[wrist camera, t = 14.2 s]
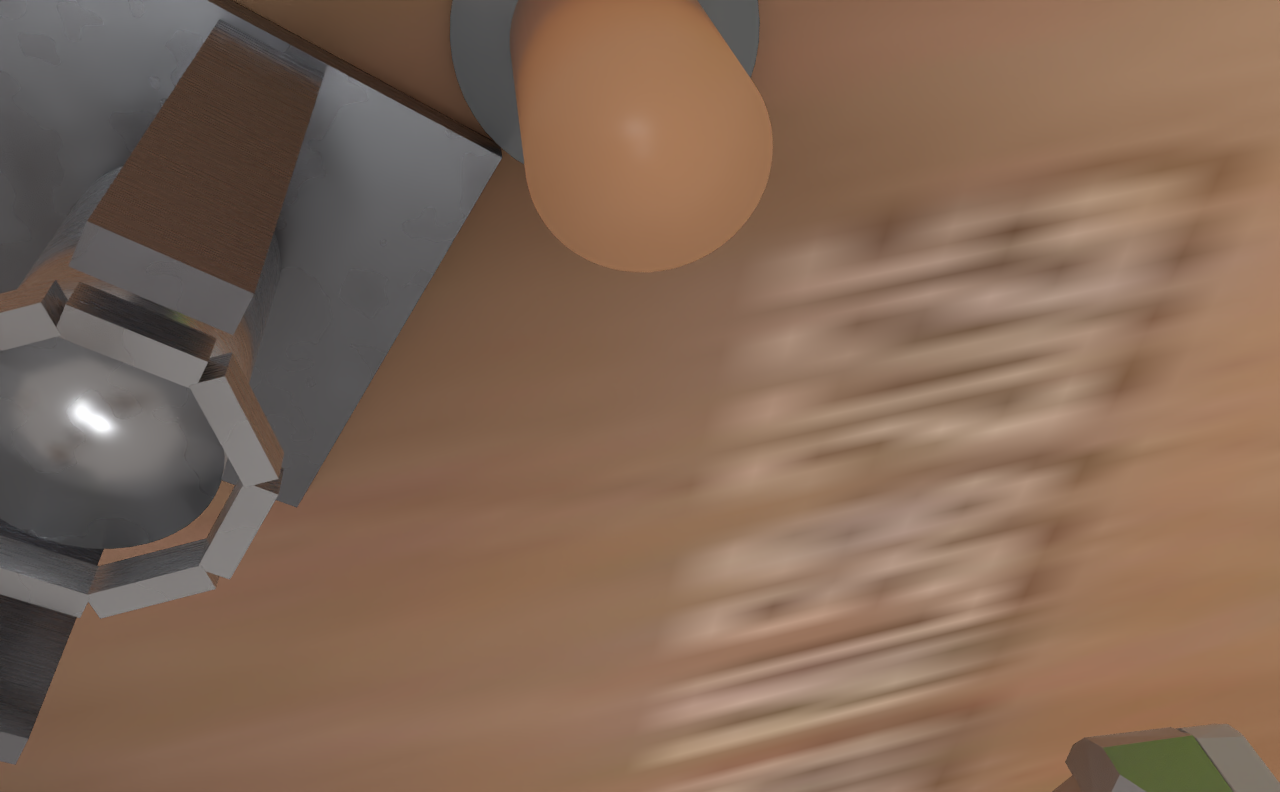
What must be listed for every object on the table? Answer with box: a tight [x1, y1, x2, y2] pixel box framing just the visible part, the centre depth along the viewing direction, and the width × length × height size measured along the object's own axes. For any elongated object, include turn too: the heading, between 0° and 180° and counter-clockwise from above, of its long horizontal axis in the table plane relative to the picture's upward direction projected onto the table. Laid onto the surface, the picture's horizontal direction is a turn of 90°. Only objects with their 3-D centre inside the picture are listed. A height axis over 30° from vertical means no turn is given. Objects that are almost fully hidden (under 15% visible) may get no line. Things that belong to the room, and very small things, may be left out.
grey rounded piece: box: [450, 0, 760, 164], centre depth 32 cm, size 9×9×1 cm
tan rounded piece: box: [510, 0, 773, 272], centre depth 29 cm, size 11×6×9 cm, turn 179°
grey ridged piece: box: [0, 0, 502, 764], centre depth 29 cm, size 15×14×14 cm
